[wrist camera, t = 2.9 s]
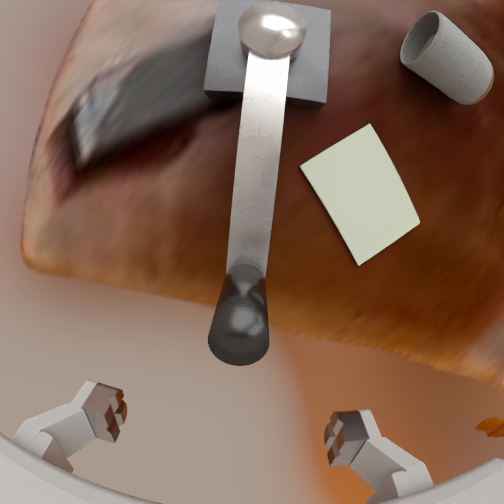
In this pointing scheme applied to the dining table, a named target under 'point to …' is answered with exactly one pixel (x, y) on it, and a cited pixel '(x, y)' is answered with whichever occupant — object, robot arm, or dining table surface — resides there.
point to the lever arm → (255, 181)
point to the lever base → (300, 68)
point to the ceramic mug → (447, 59)
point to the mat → (362, 193)
